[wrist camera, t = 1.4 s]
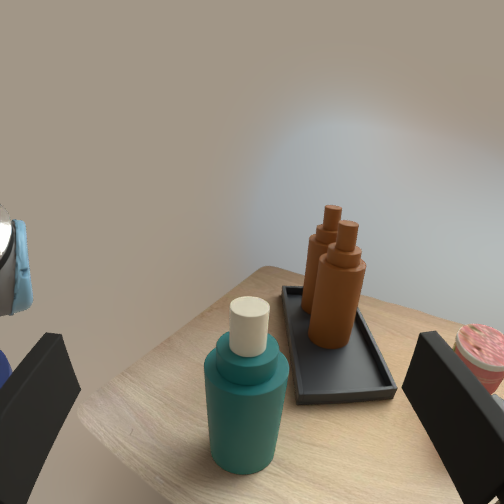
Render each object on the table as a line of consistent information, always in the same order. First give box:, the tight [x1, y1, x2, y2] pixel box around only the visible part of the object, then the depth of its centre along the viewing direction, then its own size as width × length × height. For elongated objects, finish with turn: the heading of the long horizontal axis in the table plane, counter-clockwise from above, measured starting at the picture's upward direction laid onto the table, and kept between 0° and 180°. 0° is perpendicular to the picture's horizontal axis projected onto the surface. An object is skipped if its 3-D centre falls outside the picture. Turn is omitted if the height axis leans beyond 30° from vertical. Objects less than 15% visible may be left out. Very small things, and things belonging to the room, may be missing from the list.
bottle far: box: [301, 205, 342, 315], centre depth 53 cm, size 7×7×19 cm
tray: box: [281, 286, 398, 405], centre depth 48 cm, size 13×28×2 cm, turn 179°
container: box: [452, 324, 504, 395], centre depth 34 cm, size 10×10×8 cm
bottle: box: [204, 296, 289, 475], centre depth 26 cm, size 7×7×19 cm
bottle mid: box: [308, 220, 366, 349], centre depth 45 cm, size 7×7×19 cm
